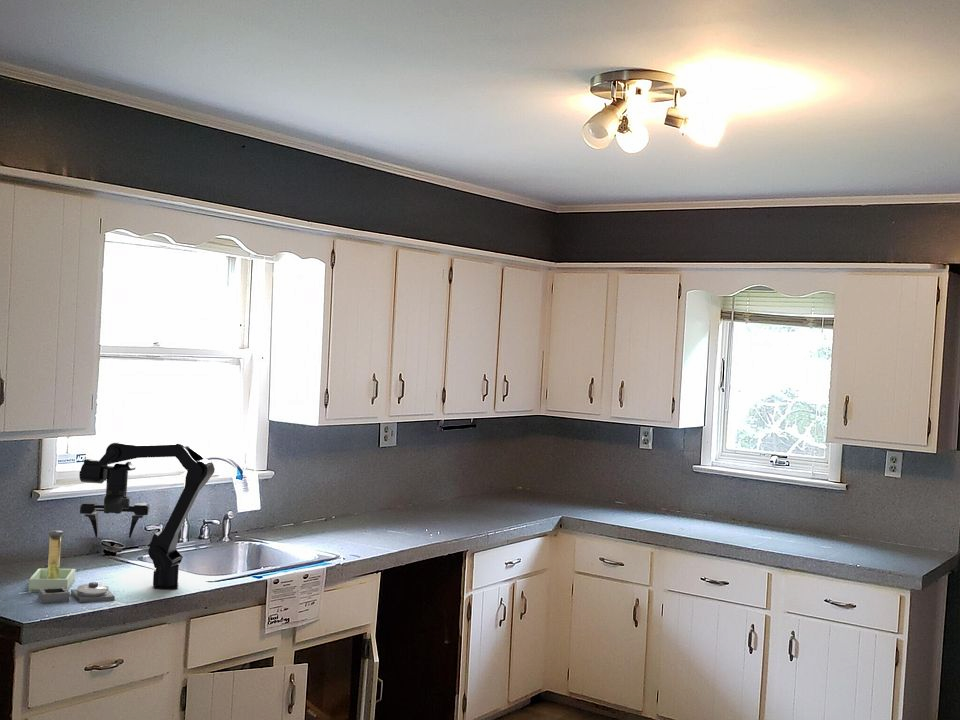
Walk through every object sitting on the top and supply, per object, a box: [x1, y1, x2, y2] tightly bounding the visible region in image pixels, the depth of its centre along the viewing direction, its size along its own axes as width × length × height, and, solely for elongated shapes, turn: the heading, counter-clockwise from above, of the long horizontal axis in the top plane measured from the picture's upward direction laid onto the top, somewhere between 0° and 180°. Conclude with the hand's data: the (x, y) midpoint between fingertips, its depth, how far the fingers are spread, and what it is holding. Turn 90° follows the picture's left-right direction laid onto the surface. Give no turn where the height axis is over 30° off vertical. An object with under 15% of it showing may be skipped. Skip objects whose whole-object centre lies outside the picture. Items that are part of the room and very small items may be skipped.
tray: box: [27, 568, 76, 593], centre depth 281 cm, size 10×14×4 cm
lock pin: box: [47, 529, 64, 579], centre depth 281 cm, size 4×4×15 cm
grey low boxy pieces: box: [37, 581, 116, 605], centre depth 269 cm, size 18×11×4 cm, turn 124°
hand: (113, 537), depth 290 cm, fingers open, 9 cm apart
